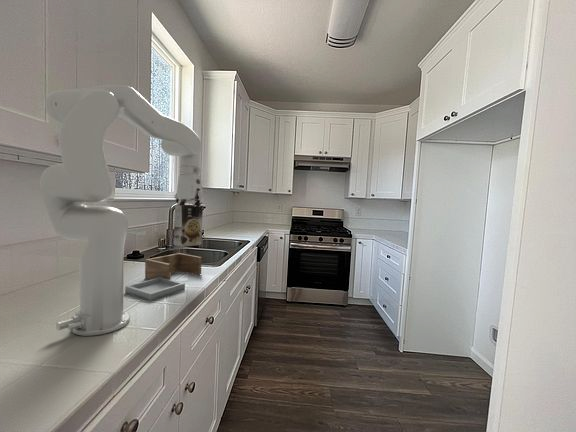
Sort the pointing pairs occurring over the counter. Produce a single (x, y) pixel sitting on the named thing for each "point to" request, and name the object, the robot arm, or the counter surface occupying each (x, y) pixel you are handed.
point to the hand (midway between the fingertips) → (188, 215)
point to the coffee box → (187, 226)
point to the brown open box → (172, 265)
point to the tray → (154, 288)
